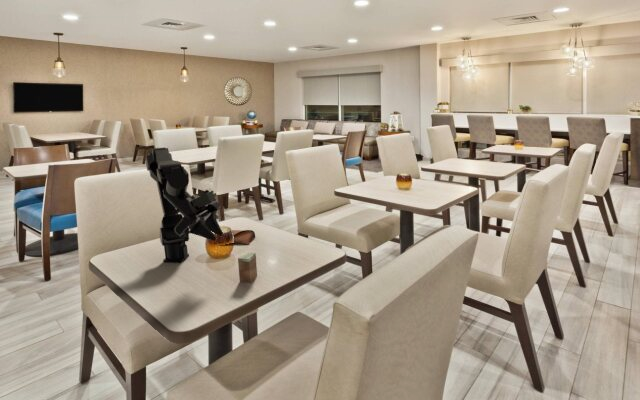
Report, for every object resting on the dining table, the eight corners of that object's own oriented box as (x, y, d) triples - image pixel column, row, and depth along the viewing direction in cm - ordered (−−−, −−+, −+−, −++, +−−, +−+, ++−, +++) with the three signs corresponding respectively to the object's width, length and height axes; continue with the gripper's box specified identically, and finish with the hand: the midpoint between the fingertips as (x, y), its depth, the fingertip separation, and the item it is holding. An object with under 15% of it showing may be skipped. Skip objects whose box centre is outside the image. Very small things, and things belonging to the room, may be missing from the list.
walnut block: (239, 281, 124) (237, 258, 122) (246, 274, 128) (244, 252, 126) (250, 282, 123) (249, 259, 121) (257, 275, 127) (255, 252, 126)
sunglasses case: (203, 244, 156) (205, 226, 158) (209, 247, 163) (211, 230, 164) (250, 244, 154) (251, 227, 156) (254, 248, 161) (256, 231, 163)
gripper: (179, 189, 113) (220, 230, 113) (212, 176, 130) (247, 211, 131) (157, 216, 117) (197, 255, 117) (192, 199, 134) (226, 234, 134)
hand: (218, 237), depth 124 cm, fingers open, 4 cm apart
